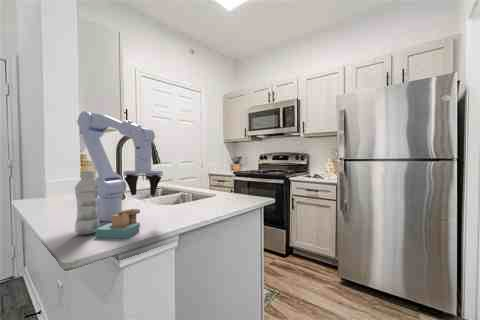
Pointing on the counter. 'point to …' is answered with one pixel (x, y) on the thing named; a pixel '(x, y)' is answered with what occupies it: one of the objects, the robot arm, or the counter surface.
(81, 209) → the plastic bottle
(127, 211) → the bobbin
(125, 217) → the plug
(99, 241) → the counter surface
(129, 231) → the notch board
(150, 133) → the robot arm
